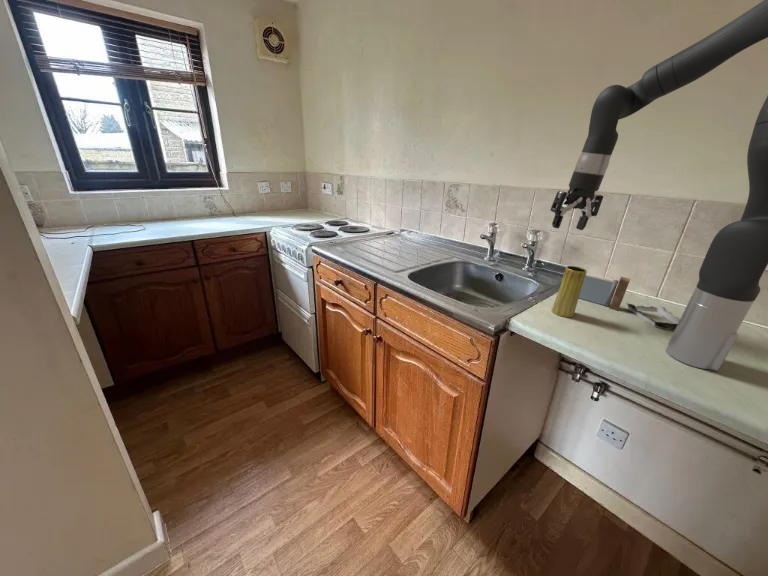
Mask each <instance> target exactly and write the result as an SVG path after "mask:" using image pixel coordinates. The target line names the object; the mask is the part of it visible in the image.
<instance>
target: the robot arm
mask: <svg viewBox="0 0 768 576" xmlns="http://www.w3.org/2000/svg"><path fill="white" fill-rule="evenodd" d="M767 38H768V0H762V1H761V2H759V3H757V4H756V5H754V6H753V7H751V8H750V9H749V10H747V11H745V12H744V13H742V14H741V15H740V16H737V17H736V18H735V19H733V20H731V21H730V22H729V23H727V24H725V25H723V26H722V27H721V28H718V29H717V30H716V31H714V32H712V33H710V34H708V35H707V36H705V37H704V38H701V39H700V40H698V41H697V42H695V43H693V44H692V45H690V46H688V47H686V48H685V49H681V51H679V52H677V53H675V54H673V55H671V56H670V57H668V58H665V59H664V60H663V61H661V62H659V63H656V65H653V66H652V67H650V68H649V69H648V70H646V71H645V72H644V73H643V74H642V77H641V78H640V79H639V80H638V81H636V82H635V83H632V84H631V85H629V86H627V87H625V86H623V85H621V84H612V85H609V86H607V87H605V88H604V89H603V90H602V91H601V92H600V93H599V94H598V96H597V97H596V99H595V101H594V103H593V106H592V107H591V108H592V110H591V114H590V120H589V126H588V132H587V133H588V134H587V137H586V139H585V142H584V145H583V148H582V150H581V153H580V156H579V157H578V159H577V162H576V163H575V166H574V170H573V173H572V175H571V178H570V181H569V183H568V187H569V189H568V191H567V192H566V191H563V190H557V192H556V194H555V197H554V199H553V202H552V205H551V207H550V212H552V213H554V218H553V220H552V224H551V225H552V228H554V229H559V228H560V227H561V224H562V222H563V219H564V215H565V214H566V213H568V212H570V211H572V209H574V210H575V209H578V210H579V211H580V214H581V216H579V219H578V221H577V224H576V227H575V228H576V229H577V230H579V231H583V230H584V229H585V228H586V226H587V224H588V221H589V219H591V217H597V216H598V214H599V211H600V207H601V206H602V202H603V199H604V195H601V194H596V192H598V191H599V189H600V187H601V185H602V182H603V180H604V178H605V175H606V173H607V170H608V167H609V165H610V160H611V158H612V154H613V152H614V150H615V147H616V145H617V142H618V140H619V139H618V138H619V132H618V131H617V126H618V122H619V120H622V119H625V118H627V117H630V116H632V115H634V114H635V113H637V112H639V111H640V110H642V109H643V108H645V107H647V106H648V105H650V104H651V103H653V102H654V101H656V100H657V99H659V98H661V97H664V96H666V95H669V94H671V93H672V92H675V91H677V90H679V89H681V88H683V87H685V86H687V85H689V84H691V83H693V82H695V81H697V80H699V79H700V78H702V77H703V76H705V75H707V74H709V73H710V72H712V71H713V70H714V69H716V68H718V67H719V66H720V65H722V64H724V63H725V62H726V61H728V60H729V59H732V58H733V57H735V56H736V55H737V54H739V53H741V52H743V51H744V50H746V49H748V48H749V47H751V46H754V45H755V44H757V43H759V42H761V41H763V40H766V39H767ZM746 155H747V156H746V157H747V158H746V164H747V176H748V187H749V189H748V191H749V192H748V197H747V201H746V205H745V207H744V211H743V212H742V215H741V218H740V220H738V221H734V222H731V223H728V224H727V225H725V226H724V227H723V228H720V230H719V231H718V232H717V233H716V235H715V236H714V238H713V239H712V241H711V242H710V245H709V247H708V249H707V252H706V254H705V257H704V258H703V261H702V263H701V266H700V268H699V271H698V281H697V283H696V286H695V289H694V290H693V292H692V295H691V296H690V299H689V300H688V302H687V304H686V307H685V309H684V311H683V313H682V315H681V317H680V318H679V320H680V321H679V323H678V325H677V327H676V329H675V330H673V331H674V332H673V333H672V335H671V338H670V339H669V341H668V343H667V346H666V348H665V351H666V353H667V354H668V355H670V356H671V357H672V358H674V359H676V361H679V362H681V363H683V364H686V365H688V366H691V367H695V368H698V369H705V370H712V371H715V372H719V370H720V368H721V367H722V364H723V363H724V361H725V359H726V358H727V356H728V355H729V353H730V351H731V349H732V347H733V346H734V344H735V343H736V341H737V339H738V337H739V334H738V330H739V328H740V327H741V325H742V323H743V322H744V320H745V318H746V316H747V314H748V313H749V311H750V309H752V306H753V304H754V302H755V301H756V299H757V298H758V295H759V294H760V293H761V287H760V285H759V283H760V280H761V278H762V277H763V275H764V272H765V271H766V269H767V266H768V95H767V97H766V99H764V102H763V104H762V106H761V108H760V110H759V112H758V115H757V117H756V119H755V123H754V126H753V130H752V133H751V136H750V140H749V144H748V149H747V154H746Z"/></svg>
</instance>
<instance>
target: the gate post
mask: <svg viewBox="0 0 768 576" xmlns="http://www.w3.org/2000/svg"><path fill="white" fill-rule="evenodd" d="M630 281H631V278H628V277H623V276H621V277H620V278H619V280H618V284H617V287H616V289H615V292H614V295H613V297H612V300H611V303H610V305H609V306H608V308H609V309H610V310H615V311H619V309H620V307H621V304H622V302H623V299H624V296H625V295H626V291H627V289H628V287H629V284H630Z"/></svg>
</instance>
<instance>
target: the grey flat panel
mask: <svg viewBox="0 0 768 576" xmlns="http://www.w3.org/2000/svg"><path fill="white" fill-rule="evenodd" d="M618 283H619V280H618V279H610V278H606V277H602V276H598V275H594V274H590V273H586V276H585V279H584V282H583V285H582V287H581V291H580V294H579V298H578V299H581V300H584V301H587V302H592V303H596V304H599V305H603V306H605V307H610V305H611V302H612V299H613V297H614V294H615V291H616V289H617V286H618Z"/></svg>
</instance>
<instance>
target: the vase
mask: <svg viewBox="0 0 768 576" xmlns="http://www.w3.org/2000/svg"><path fill="white" fill-rule="evenodd" d="M587 272H588V271H587V269H585V268H583V267H580V266H576V265H567V266H566V267H565V270H564V274H563V275H562V280H561V283H560V285H559V286H560V287H559V288H558V292H557V295H556V297H555V300H554V302H553V305H552V308H551V312H552V313H553V314H554V315H556V316H559V317H563V318H573V317H574V316H575V314H576V313H575V312H576V308H577V305H578V302H579V301H578V300H579V299H580V298H579V294H580V291H581V287H582V285H583V282H584V279H585V276H586V274H587Z"/></svg>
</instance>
